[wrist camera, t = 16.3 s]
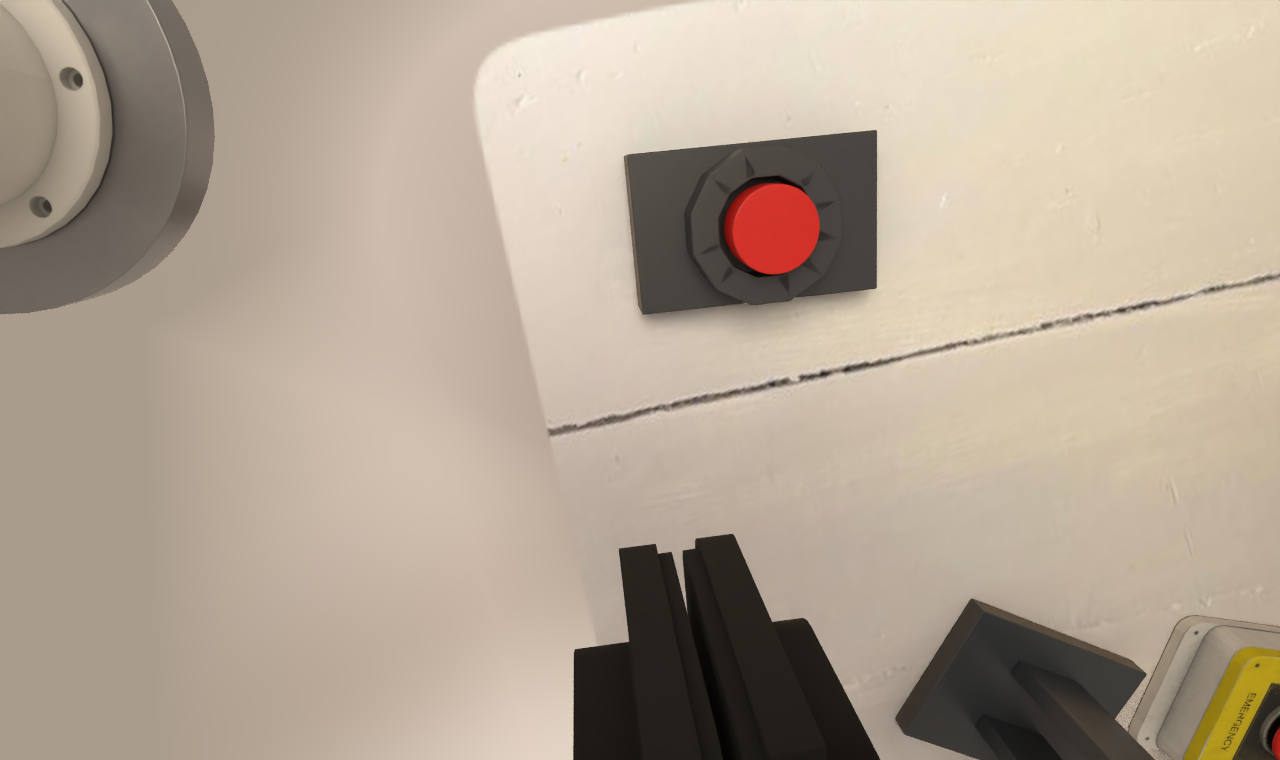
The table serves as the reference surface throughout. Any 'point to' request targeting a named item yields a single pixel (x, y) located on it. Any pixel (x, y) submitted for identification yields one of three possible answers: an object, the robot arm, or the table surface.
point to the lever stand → (1022, 693)
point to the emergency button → (1214, 693)
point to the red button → (772, 227)
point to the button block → (700, 198)
